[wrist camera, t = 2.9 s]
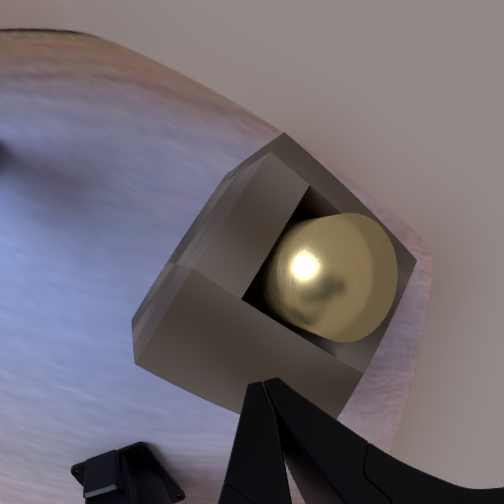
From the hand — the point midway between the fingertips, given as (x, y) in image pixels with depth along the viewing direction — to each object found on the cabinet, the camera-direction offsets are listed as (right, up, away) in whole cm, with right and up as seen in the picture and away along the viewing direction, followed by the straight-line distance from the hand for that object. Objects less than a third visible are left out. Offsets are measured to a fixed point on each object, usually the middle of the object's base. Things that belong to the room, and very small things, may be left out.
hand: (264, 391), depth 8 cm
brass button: (+1, +3, +9) cm, 10 cm away
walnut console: (-1, +1, +13) cm, 13 cm away
